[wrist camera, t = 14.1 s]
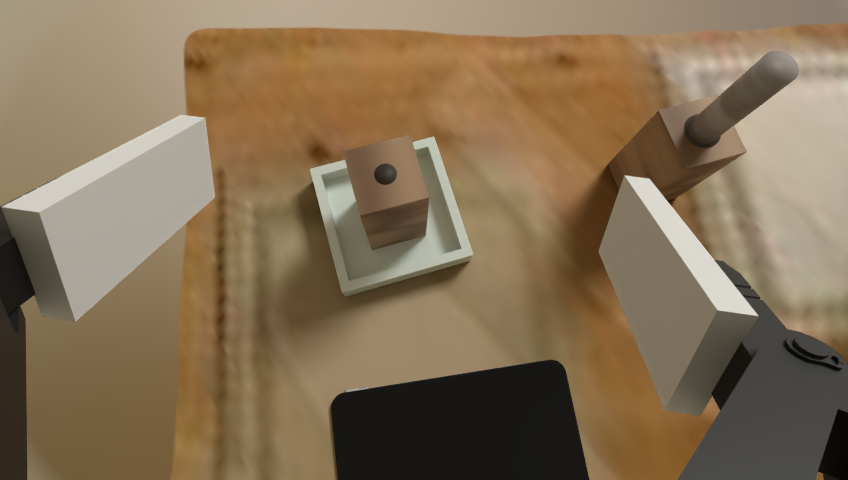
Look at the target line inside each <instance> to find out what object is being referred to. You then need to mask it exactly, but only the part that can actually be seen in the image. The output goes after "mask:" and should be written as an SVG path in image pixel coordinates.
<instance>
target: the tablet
mask: <svg viewBox="0 0 848 480" xmlns="http://www.w3.org/2000/svg"><path fill="white" fill-rule="evenodd" d="M331 412H332V422H333V432H334V443H335V453H336V463H337V473H338V480H589V476H588V471H587V467H586V462H585V457H584V453H583V448H582V444H581V439H580V434H579V430H578V425H577V421H576V416H575V411H574V407H573V402H572V397H571V393H570V388H569V384H568V379H567V374H566V371H565V368H564V367H563V365H562V364H561V363H559V362H558V361H555V360H545V361H538V362H532V363H526V364H519V365H513V366H507V367H501V368H494V369H488V370H482V371H475V372H469V373H463V374H457V375H450V376H444V377H438V378H431V379H425V380H419V381H413V382H406V383H400V384H394V385H387V386H381V387H375V388H369V389H367V387H363V388H357V389H350V390H345V392H344V393H341V394H339V395H338V396H336V398H335V399H334V400H333V402H332V406H331Z"/></svg>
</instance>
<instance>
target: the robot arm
mask: <svg viewBox="0 0 848 480" xmlns="http://www.w3.org/2000/svg"><path fill="white" fill-rule="evenodd" d="M214 198H215V194H214V186H213V177H212V169H211V161H210V153H209V145H208V137H207V129H206V121H205V118H202V117H194V116H187V115H180V116H178V117H176V118H174V119H172V120H170V121H168V122H166V123H164V124H162V125H160V126H158V127H156V128H155V129H153V130H151V131H149V132H147V133H145V134H143V135H141V136H139V137H137V138H135V139H133V140H131V141H129V142H127V143H125V144H123V145H121V146H119V147H118V148H115V149H113V150H112V151H110V152H108V153H106V154H104V155H102V156H100V157H98V158H96V159H94V160H92V161H90V162H88V163H86V164H84V165H82V166H80V167H78V168H77V169H74V170H73V171H71V172H69V173H67V174H65V175H63V176H61V177H59V178H55V179H53V180H52V181H49V182H47V183H46V184H44V185H42V186H40V187H39V188H37V189H34V190H32V191H30V192H28V193H26V194H25V195H24V196H20V197H18V198H16V199H14V200H12V201H10V202H8V203H6V204H4V205H2V206H0V480H27V418H26V417H27V414H26V331H25V330H26V329H25V328H26V326H25V317H24V314H23V312H22V309H21V307H20V305H22V304H23V303H24V302H25V301H27V300H28V299H30V298H31V297H32V296H35V298H36V301H37V304H38V306H39V309H40V312H41V314H42V317H49V318H55V319H62V320H68V321H75V322H76V321H77V320H78V319H79V318H80V317H81V316H82V315H83V314H85V312H87V311H88V310H89V309H90V308H91V307H92V306H94V304H96V303H97V302H98V301H99V300H100V299H101V298H102V297H103V296H105V295H106V294H107V293H108V292H109V291H110V290H111V289H113V288H114V287H115V286H116V285H117V284H118V283H119V282H120V281H122V280H123V279H124V278H125V277H126V276H127V275H128V274H129V273H131V272H132V271H133V270H134V269H135V268H136V267H137V266H138V265H140V264H141V263H142V262H143V261H144V260H145V259H146V258H147V257H148V256H149V255H151V254H152V253H153V252H154V251H155V250H156V249H157V248H159V247H160V246H161V245H162V244H163V243H164V242H165V241H166V240H168V239H169V238H170V237H171V236H172V235H173V234H174V233H175V232H177V231H178V230H179V229H180V228H181V227H182V226H183V225H184V224H185V223H187V222H188V221H189V220H190V219H191V218H192V217H193V216H194V215H196V214H197V213H198V212H199V211H200V210H201V209H202V208H203V207H205V206H206V205H207V204H208V203H209V202H210V201H211V200H212V199H214ZM598 252H599V254H600V257H601V259H602V262H603V264H604V266H605V269H606V271H607V274H608V276H609V278H610V281H611V283H612V286H613V288H614V290H615V293H616V295H617V298H618V300H619V302H620V305H621V307H622V310H623V312H624V314H625V317H626V319H627V321H628V324H629V326H630V329H631V331H632V333H633V336H634V338H635V341H636V343H637V345H638V348H639V350H640V353H641V355H642V357H643V360H644V362H645V365H646V367H647V369H648V372H649V374H650V377H651V379H652V381H653V384H654V386H655V389H656V391H657V393H658V396H659V398H660V401H661V403H662V405H663V408H664V410H665V411H672V412H679V413H685V414H692V415H699V416H700V415H701V414H702V412H703V410H704V409H705V407H706V405H707V404H708V402H709V400H710V398H711V397H712V396H713V398H714V399H715V401H716V403H717V405H718V407H719V409H720V410H721V411H720V412H719V414H718V416H717V417H716V419H715V420H714V422H713V424H712V425H711V427H710V428H709V430H708V432H707V433H706V435H705V436H704V438H703V440H702V441H701V443H700V444H699V446H698V448H697V449H696V451H695V452H694V454H693V456H692V457H691V459H690V461H689V462H688V464H687V465H686V467H685V469H684V470H683V472H682V473H681V475H680V477H679V478H678V480H815V479H816V475H817V472H818V471H819V472H821V473H823V477H824V480H848V364H847V363H846V361H845V360H844V359H843V357H842V356H841V355H840V354H839V353H837V352H836V351H835V350H833V349H832V348H831V347H830V346H828V345H826V344H825V343H823V342H821V341H819V340H817V339H816V338H814V337H811V336H809V335H806V334H803V333H801V332H797V331H792V330H788V329H786V327H785V326H784V325H783V324H782V323H781V321H780V320H779V319H778V318H777V317H776V316H775V314H774V313H773V312H772V311H771V310H770V308H769V307H768V306H767V305H766V304H765V302H764V301H763V300H760V297H759V295H758V294H757V293H756V292H755V291H754V289H751V286H750V285H749V284H748V282H747V281H746V280H745V279H744V278H743V276H742V275H741V274H740V273H739V272H737V271H736V270H734V269H733V268H731V267H730V266H729V265H727V264H726V263H724V262H723V261H718V260H714V259H713V258H712V257H711V255H710V254H709V253H708V252H707V250H706V249H705V248H704V247H703V245H702V244H701V243H700V242H699V240H698V239H697V238H696V237H695V235H694V234H693V233H692V232H691V230H690V229H689V228H688V227H687V225H686V224H685V223H684V221H683V220H682V219H681V218H680V216H679V215H678V214H677V213H676V211H675V210H674V209H673V208H672V206H671V205H670V204H669V203H668V201H667V200H666V199H665V198H664V196H663V195H662V194H661V193H660V191H659V190H658V189H657V188H656V186H655V185H654V184H653V182H652V181H651V180H650V179H648V178H640V177H633V176H626V175H624V178H623V181H622V184H621V187H620V190H619V193H618V195H617V198H616V201H615V204H614V207H613V210H612V213H611V216H610V219H609V222H608V225H607V228H606V231H605V233H604V236H603V239H602V242H601V245H600V248H599V251H598Z"/></svg>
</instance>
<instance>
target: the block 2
mask: <svg viewBox="0 0 848 480" xmlns="http://www.w3.org/2000/svg"><path fill="white" fill-rule="evenodd" d="M798 71H799V70H798V65H797V63H796V61H795V60H794V59H793V58H792V57H791V56H790V55H788V54H787V53H784V52H781V51H771V52H769V53H767V54H766V55H765V56H763V57H762V58H761V59H760V60H759V61H758V62H757V63H756V64H754V65H753V66H752V67H751V68H750V69H749V70H748V71H747V72H746V73H744V74H743V75H742V76H741V77H740V78H739V79H738V80H737V81H735V82H734V83H733V84H732V85H731V86H730V87H729V88H728V89H727V90H725V91H724V92H723V93H722V94H721V95H720V96H718V95H715V96H711V97H707V98H704V99H700V100H696V101H693V102H689V103H685V104H681V105H678V106H674V107H670V108H667V109H663V110H659V111H658V112H657V113H656V114H655V115H654V116H653V117H652V118H651V119H650V120H649V121H648V123H647V124H646V125H645V126H644V127H643V128H642V129H641V130H640V131H639V132H638V133H637V134H636V135H635V136H634V137H633V138H632V139H631V140H630V142H629V143H628V144H627V145H626V146H625V147H624V148H623V149H622V150H621V151H620V152H619V153H618V154H617V155H616V156H615V157H614V158H613V159H612V161H611V162H610V163H609V164H608V166H609V168H610V171H611V173H612V175H613V178H614V180H615V182H616V185H617V187H618V189H619V190H620V187H621V184H622V181H623V178H624V175H626V176H633V177H640V178H648V179H650V180H651V181H652V182H653V184H654V185H655V186H656V188H657V189H658V190H659V191H660V193H661V194H662V195H663V196H664V198H665V199H666V200H670V199H674V198H677V197H678V196H680V195H681V194H683V193H684V192H686V191H687V190H689V189H691V188H692V187H694V186H695V185H697V184H698V183H700V182H701V181H703V180H704V179H706V178H707V177H709V176H710V175H712V174H714V173H715V172H717V171H718V170H720V169H721V168H723V167H724V166H726V165H727V164H729V163H730V162H732V161H733V160H735V159H736V158H738V157H740V156H741V155H743V154H744V153H746V152H747V151H746V149H745V147H744V145H743V143H742V141H741V139H740V137H739V135H738V133H737V132H736V130H735V128H734V125H735V124H737V123H738V122H739V121H741V120H742V119H743V118H745V117H746V116H747V115H748V114H750V113H751V112H752V111H754V110H755V109H756V108H758V107H759V106H760V105H762V104H763V103H764V102H766V101H767V100H768V99H769V98H771V97H772V96H773V95H775V94H776V93H777V92H779V91H780V90H781V89H783V88H784V87H785V86H787V85H788V84H789V83H790V82H792V81H793V80H794V79H795V78H796V77H797V75H798Z"/></svg>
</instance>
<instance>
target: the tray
mask: <svg viewBox="0 0 848 480" xmlns="http://www.w3.org/2000/svg"><path fill="white" fill-rule="evenodd" d="M413 146H414V149H415V152H416V155H417V159H418V162H419V165H420V168H421V172H422V175H423V178H424V181H425V185H426V188H427V191H428V194H429V207H428V218H427V228H426V236H422V237H419V238H415V239H411V240H408V241H404V242H400V243H397V244H393V245H389V246H386V247H382V248H378V249H375V250H372V249H371V246H370V243H369V240H368V238H367V235H366V232H365V229H364V226H363V223H362V220H361V217H360V214H359V210H358V207H357V203H356V199H355V195H354V192H353V188H352V184H351V180H350V177H349V173H348V169H347V165H346V162H345V160H343V161H339V162H335V163H331V164H327V165H324V166H320V167H316V168H312V169H310V171H311V175H312V179H313V183H314V187H315V191H316V195H317V198H318V202H319V206H320V210H321V214H322V218H323V222H324V226H325V230H326V233H327V237H328V241H329V245H330V249H331V253H332V257H333V261H334V265H335V268H336V272H337V276H338V280H339V284H340V288H341V292H342V294H343V295H344V296H345V297H347V296H351V295H354V294H358V293H361V292H365V291H368V290H371V289H375V288H378V287H382V286H385V285H389V284H392V283H396V282H399V281H402V280H406V279H409V278H413V277H416V276H420V275H423V274H427V273H430V272H434V271H437V270H440V269H444V268H447V267H451V266H454V265H458V264H461V263H465V262H468V261H470V260H471V258H472V257H473V252H472V249H471V246H470V243H469V240H468V237H467V234H466V231H465V228H464V225H463V222H462V219H461V216H460V213H459V210H458V207H457V204H456V201H455V198H454V195H453V192H452V189H451V186H450V183H449V180H448V177H447V174H446V171H445V168H444V165H443V162H442V159H441V156H440V153H439V150H438V147H437V144H436V141H435V138H434V137H430V138H426V139H423V140H419V141H415V142H413Z"/></svg>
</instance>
